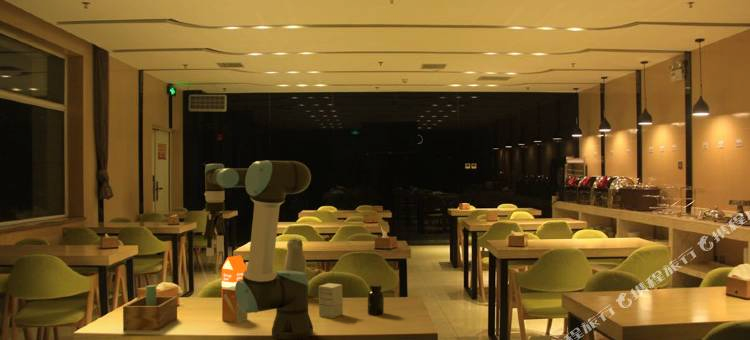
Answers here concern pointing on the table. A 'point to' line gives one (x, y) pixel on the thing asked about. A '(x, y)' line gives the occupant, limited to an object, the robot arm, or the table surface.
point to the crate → (150, 313)
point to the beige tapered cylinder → (295, 256)
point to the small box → (231, 306)
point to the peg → (151, 295)
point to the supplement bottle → (375, 300)
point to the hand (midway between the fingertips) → (215, 253)
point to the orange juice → (232, 271)
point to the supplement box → (330, 300)
